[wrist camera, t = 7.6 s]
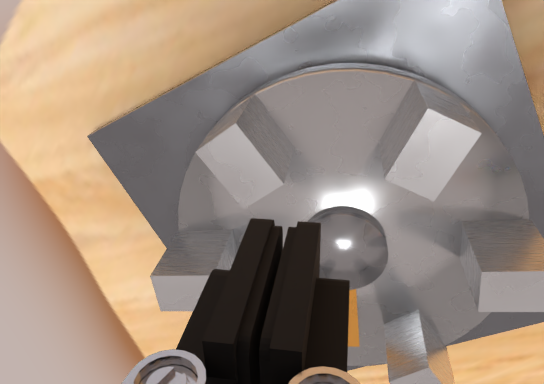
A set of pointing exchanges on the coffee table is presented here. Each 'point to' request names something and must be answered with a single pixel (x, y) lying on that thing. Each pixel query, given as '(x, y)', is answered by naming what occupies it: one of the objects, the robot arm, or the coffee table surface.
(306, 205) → the gear wheel
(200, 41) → the coffee table surface
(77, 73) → the coffee table surface
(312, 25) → the base plate
